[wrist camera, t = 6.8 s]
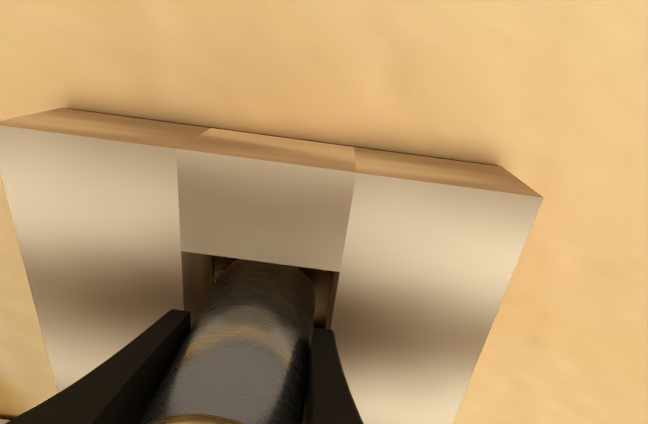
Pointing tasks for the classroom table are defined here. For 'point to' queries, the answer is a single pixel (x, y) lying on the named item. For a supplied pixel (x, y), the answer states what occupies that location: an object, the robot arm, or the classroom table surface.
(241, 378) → the pin
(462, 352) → the block
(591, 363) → the classroom table surface
